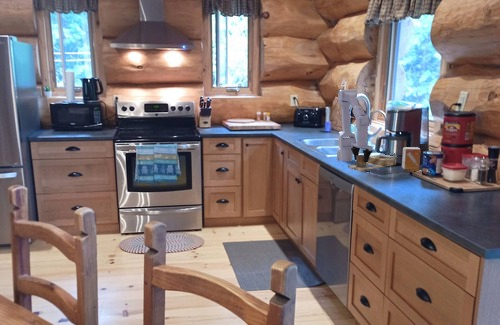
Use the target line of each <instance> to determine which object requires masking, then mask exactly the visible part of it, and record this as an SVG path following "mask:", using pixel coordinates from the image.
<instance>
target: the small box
mask: <svg viewBox="0 0 500 325" xmlns="http://www.w3.org/2000/svg"><path fill="white" fill-rule="evenodd" d="M420 161H421V148H420V147H418V146H416V147H415V146H414V147H413V146H412V147H411V146H410V147H409V146H408V147H407V146H405V147H402V160H401V168H402V169H403V172H404V173H415V172H414V171H419V172H420V165H421V164H420V163H421V162H420Z"/></svg>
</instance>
